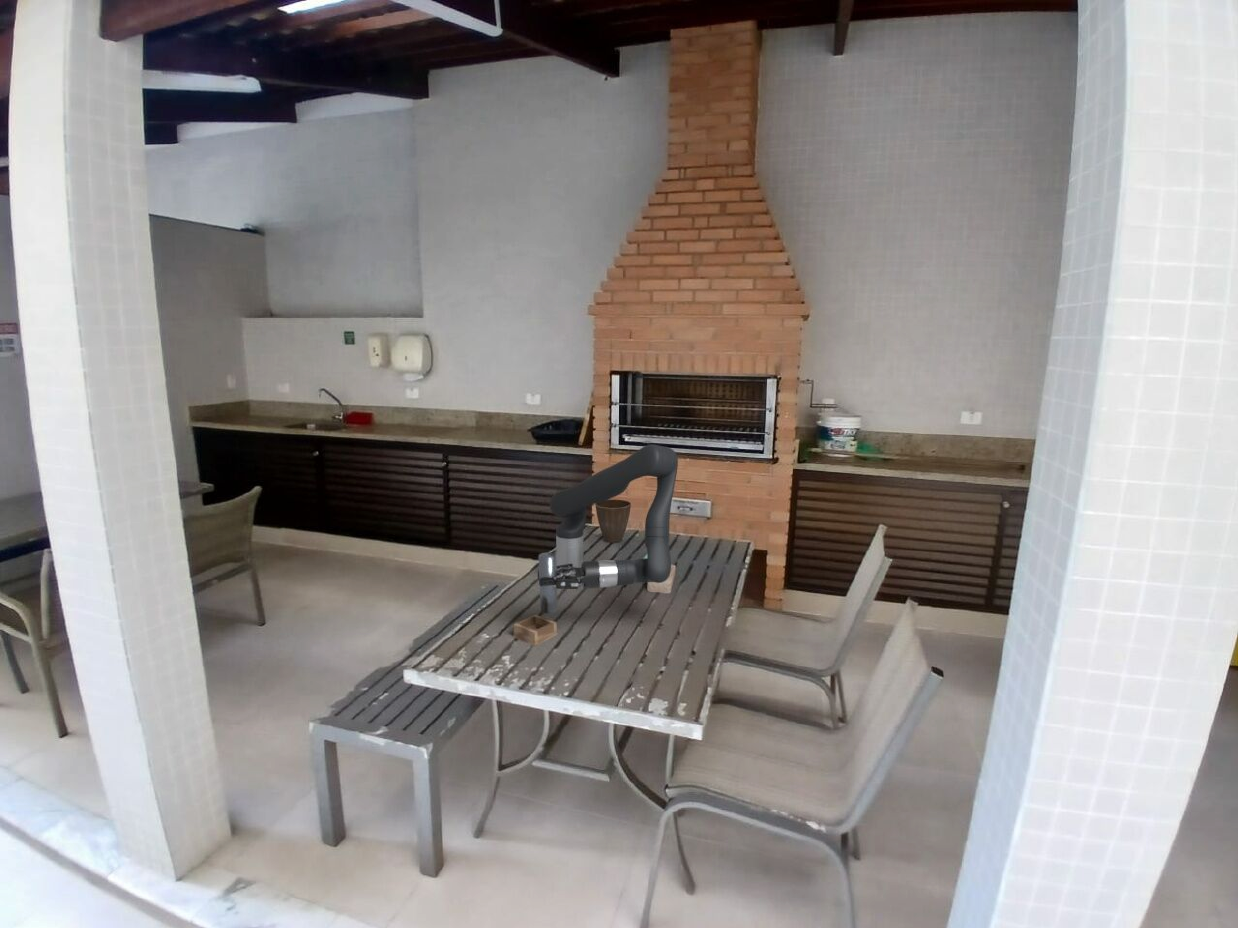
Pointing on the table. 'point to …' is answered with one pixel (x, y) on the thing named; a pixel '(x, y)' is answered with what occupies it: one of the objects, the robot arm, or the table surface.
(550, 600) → the rod
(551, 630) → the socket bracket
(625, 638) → the table surface
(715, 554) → the table surface
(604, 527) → the plant pot
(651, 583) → the brick
